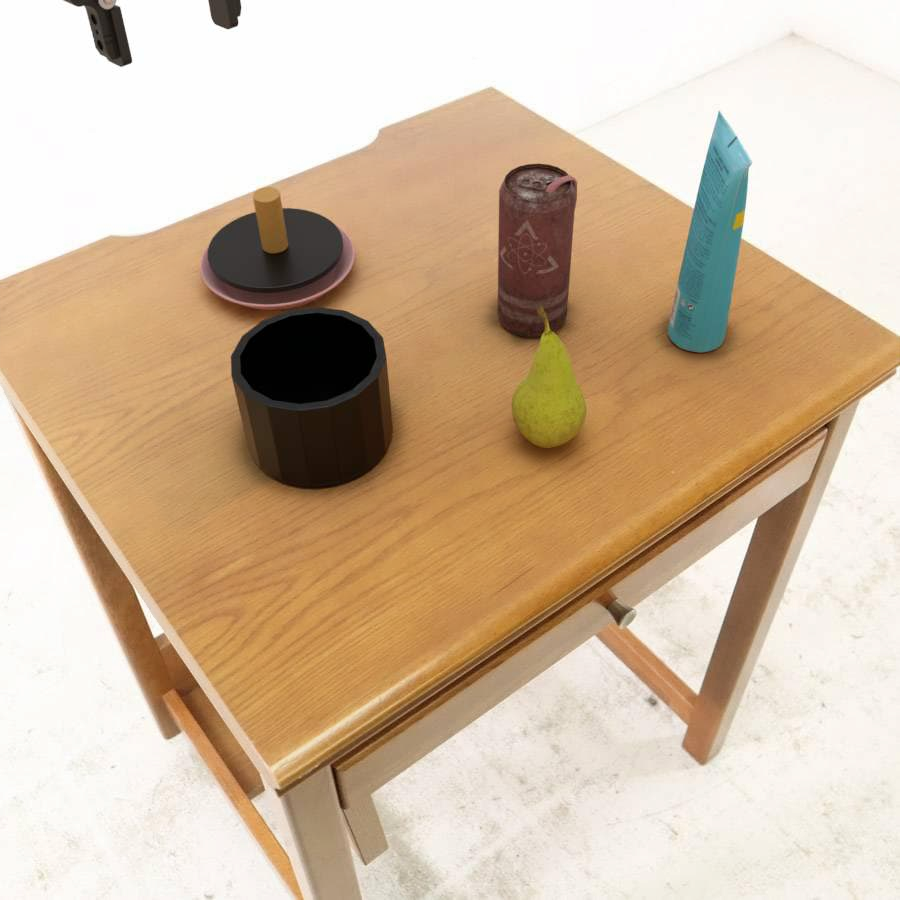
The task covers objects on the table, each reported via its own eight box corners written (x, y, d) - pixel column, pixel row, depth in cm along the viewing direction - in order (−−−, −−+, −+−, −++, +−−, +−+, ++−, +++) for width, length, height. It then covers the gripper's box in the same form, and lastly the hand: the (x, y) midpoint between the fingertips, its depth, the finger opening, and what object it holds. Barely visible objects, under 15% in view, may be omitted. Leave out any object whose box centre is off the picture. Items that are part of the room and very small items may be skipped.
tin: (329, 511, 79) (316, 432, 73) (219, 449, 84) (198, 369, 78) (420, 422, 86) (415, 342, 80) (313, 369, 90) (301, 289, 84)
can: (580, 328, 93) (592, 190, 83) (514, 347, 92) (518, 208, 82) (551, 289, 97) (559, 152, 87) (487, 306, 96) (487, 169, 86)
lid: (281, 316, 92) (270, 252, 87) (181, 267, 97) (165, 205, 93) (371, 246, 99) (365, 183, 94) (272, 204, 104) (262, 142, 99)
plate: (177, 267, 101) (172, 250, 99) (306, 213, 107) (303, 196, 105) (251, 344, 93) (247, 326, 91) (386, 281, 99) (384, 264, 97)
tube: (738, 357, 90) (784, 156, 76) (684, 367, 90) (721, 166, 76) (704, 304, 95) (742, 106, 81) (653, 313, 95) (682, 115, 81)
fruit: (567, 474, 81) (577, 356, 73) (498, 450, 83) (500, 333, 75) (594, 426, 85) (607, 308, 76) (528, 404, 87) (533, 287, 78)
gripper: (39, -212, 55) (113, 92, 66) (258, -253, 62) (292, 27, 73) (-31, -229, 59) (51, 61, 70) (183, -266, 66) (226, 1, 77)
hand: (174, 43), depth 71 cm, fingers open, 8 cm apart
